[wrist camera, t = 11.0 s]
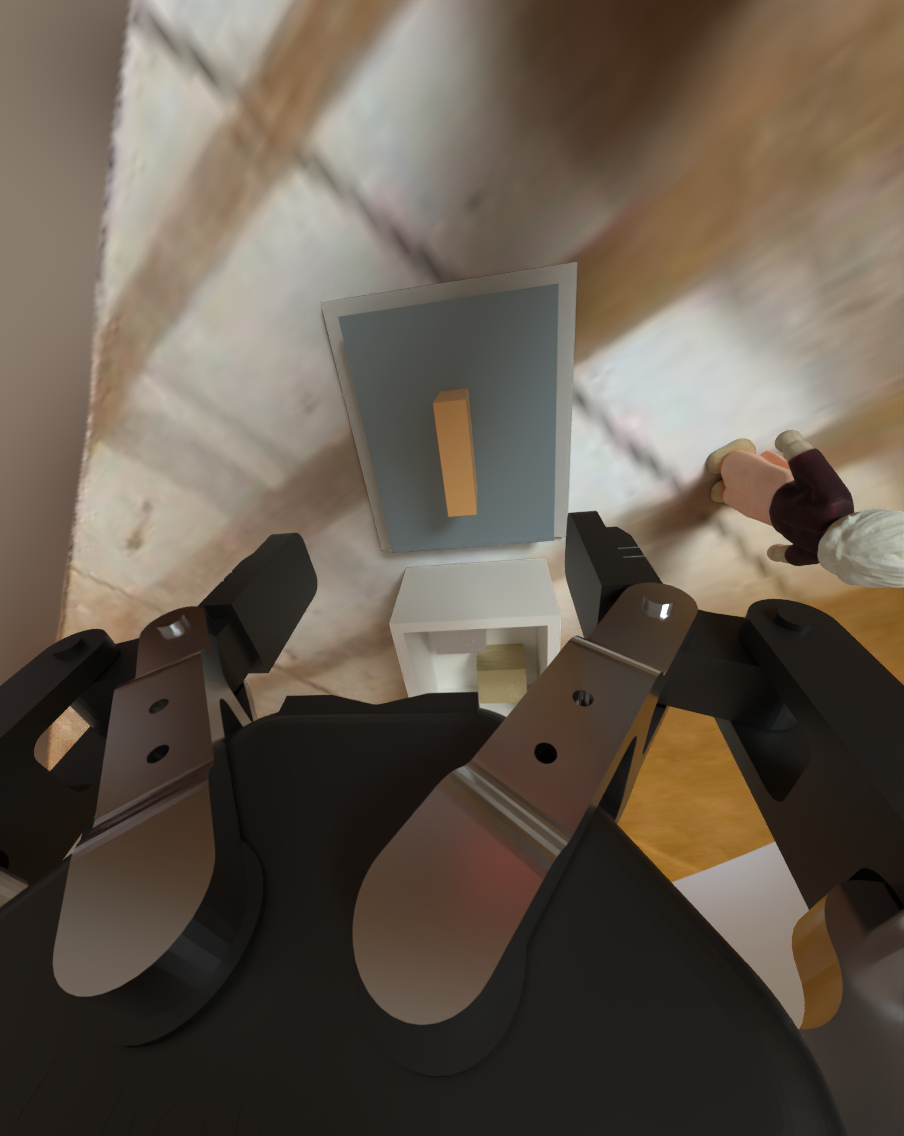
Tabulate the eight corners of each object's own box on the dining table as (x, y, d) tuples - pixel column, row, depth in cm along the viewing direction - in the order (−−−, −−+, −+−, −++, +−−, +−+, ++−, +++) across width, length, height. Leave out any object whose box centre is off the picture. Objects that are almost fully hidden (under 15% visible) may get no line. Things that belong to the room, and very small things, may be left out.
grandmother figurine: (775, 499, 26) (975, 617, 16) (715, 525, 28) (862, 651, 17) (751, 395, 23) (982, 455, 13) (684, 430, 25) (842, 511, 14)
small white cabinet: (406, 567, 31) (388, 624, 25) (545, 557, 30) (561, 614, 24) (431, 686, 39) (423, 752, 33) (544, 683, 37) (556, 750, 31)
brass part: (476, 645, 34) (476, 671, 32) (522, 643, 34) (526, 669, 31) (480, 677, 36) (480, 703, 34) (523, 675, 36) (527, 702, 33)
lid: (347, 317, 22) (309, 314, 17) (552, 286, 21) (575, 274, 16) (396, 541, 30) (380, 584, 25) (549, 529, 28) (564, 571, 23)
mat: (323, 302, 22) (320, 302, 22) (575, 262, 20) (577, 261, 20) (383, 547, 30) (381, 550, 30) (565, 533, 29) (567, 536, 28)
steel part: (433, 592, 31) (429, 615, 29) (482, 589, 31) (482, 612, 28) (440, 629, 34) (436, 654, 31) (486, 627, 33) (486, 652, 30)
